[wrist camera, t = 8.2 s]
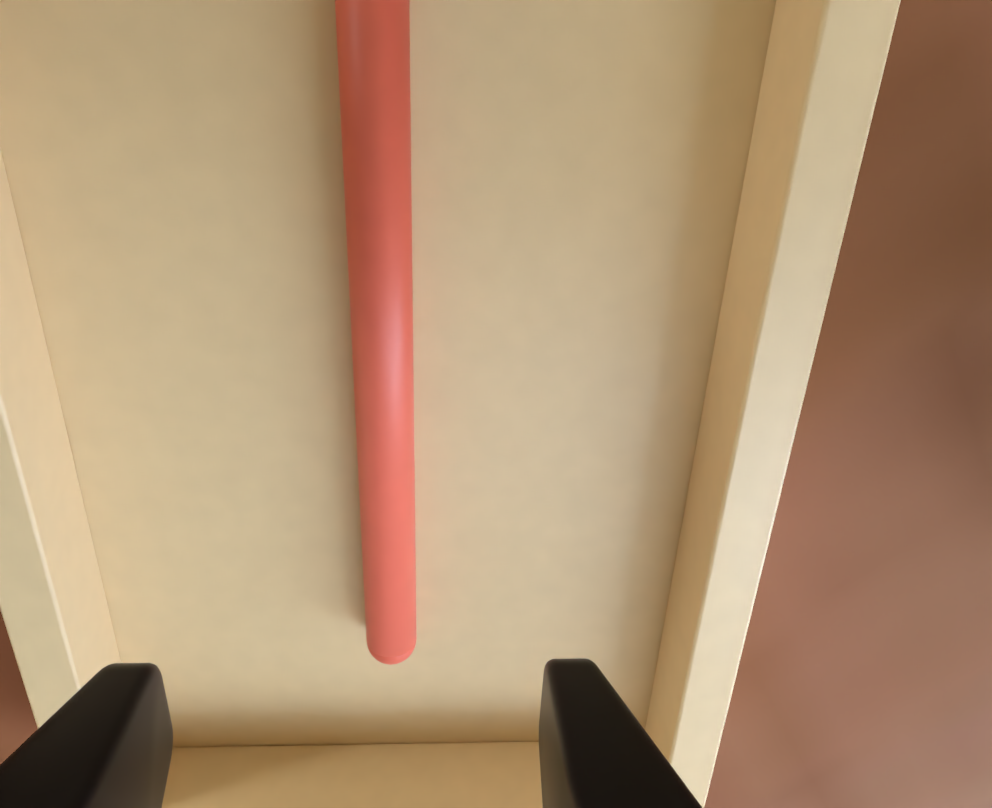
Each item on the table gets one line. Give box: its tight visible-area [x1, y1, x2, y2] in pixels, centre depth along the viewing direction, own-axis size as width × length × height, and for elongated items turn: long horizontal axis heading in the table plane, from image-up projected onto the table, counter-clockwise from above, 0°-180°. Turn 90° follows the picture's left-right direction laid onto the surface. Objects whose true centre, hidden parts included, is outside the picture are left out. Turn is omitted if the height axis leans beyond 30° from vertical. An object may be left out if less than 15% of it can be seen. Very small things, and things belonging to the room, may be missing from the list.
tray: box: [0, 0, 901, 808], centre depth 12 cm, size 19×11×2 cm, turn 178°
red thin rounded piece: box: [335, 0, 417, 665], centre depth 12 cm, size 7×1×10 cm
